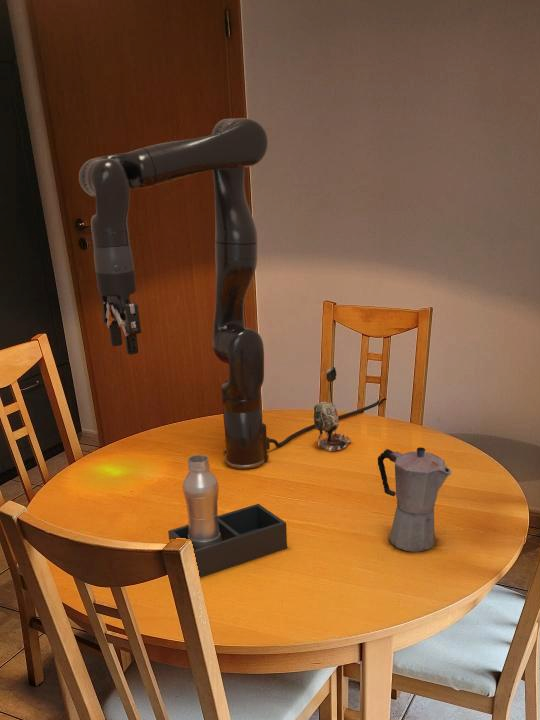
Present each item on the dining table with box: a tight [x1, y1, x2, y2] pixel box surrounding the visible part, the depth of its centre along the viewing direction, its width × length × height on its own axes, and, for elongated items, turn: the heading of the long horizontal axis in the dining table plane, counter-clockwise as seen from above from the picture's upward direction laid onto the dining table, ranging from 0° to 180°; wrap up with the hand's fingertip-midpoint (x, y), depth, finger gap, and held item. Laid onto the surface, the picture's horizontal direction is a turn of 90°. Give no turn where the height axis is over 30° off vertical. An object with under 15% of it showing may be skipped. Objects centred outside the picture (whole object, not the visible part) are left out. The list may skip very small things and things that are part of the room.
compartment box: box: [167, 503, 288, 578], centre depth 152 cm, size 10×20×6 cm, turn 123°
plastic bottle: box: [182, 454, 222, 550], centre depth 146 cm, size 6×7×20 cm
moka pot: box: [377, 446, 453, 553], centre depth 150 cm, size 10×15×20 cm, turn 58°
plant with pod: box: [313, 365, 352, 452], centre depth 196 cm, size 8×11×20 cm
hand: (124, 349), depth 163 cm, fingers open, 8 cm apart
